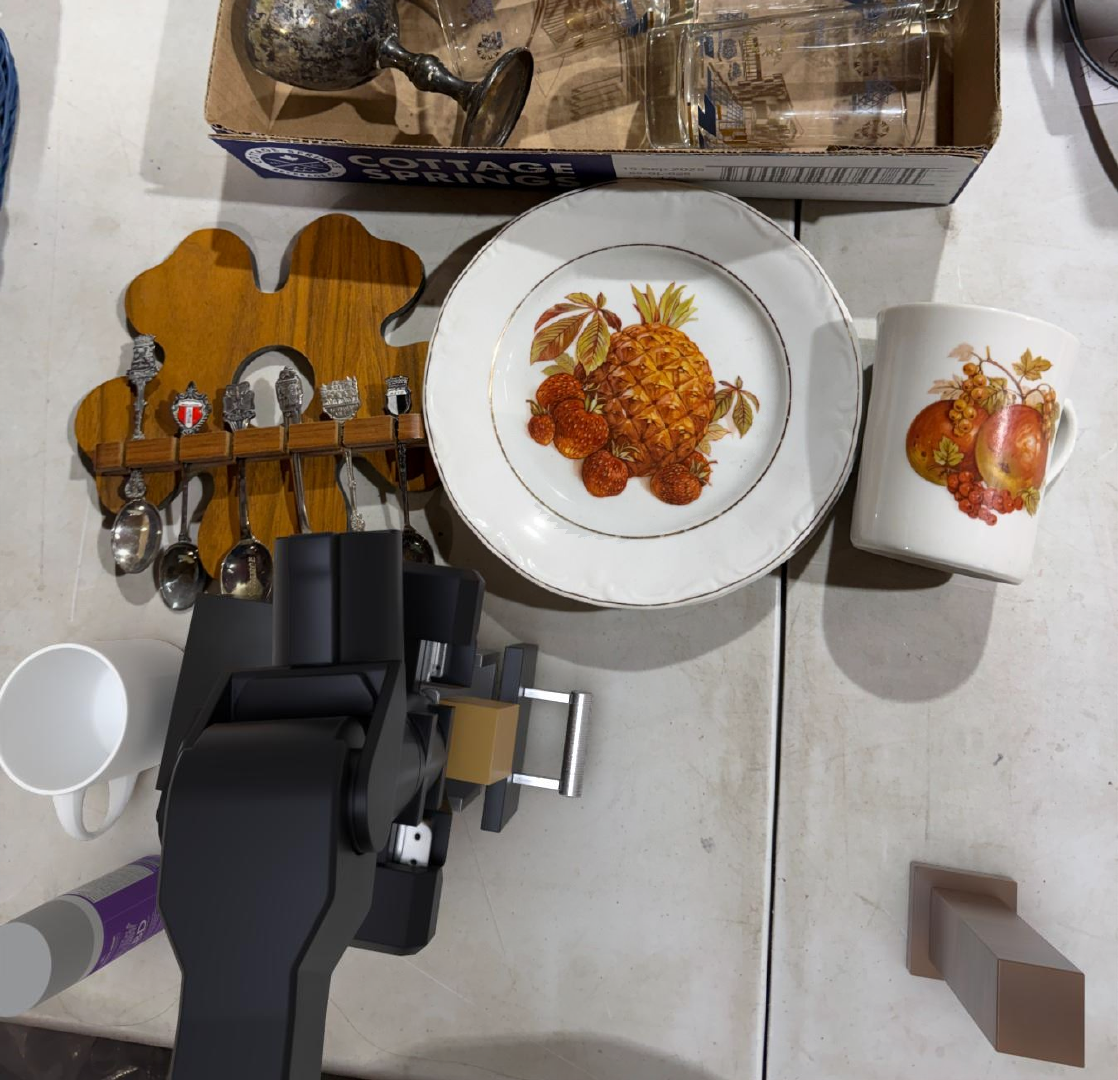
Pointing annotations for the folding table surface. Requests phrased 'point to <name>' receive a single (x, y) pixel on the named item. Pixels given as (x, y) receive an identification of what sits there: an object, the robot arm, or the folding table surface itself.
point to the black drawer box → (216, 656)
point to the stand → (995, 963)
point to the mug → (87, 721)
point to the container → (77, 934)
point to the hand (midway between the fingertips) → (436, 727)
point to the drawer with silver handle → (520, 733)
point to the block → (481, 739)
